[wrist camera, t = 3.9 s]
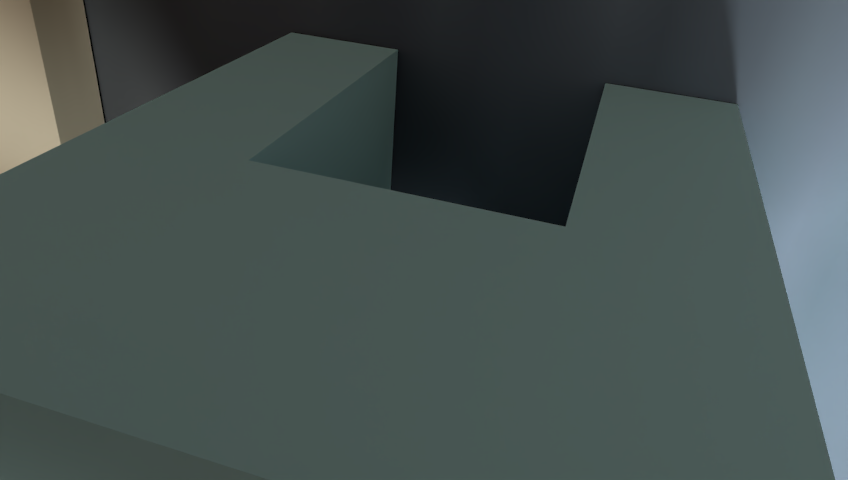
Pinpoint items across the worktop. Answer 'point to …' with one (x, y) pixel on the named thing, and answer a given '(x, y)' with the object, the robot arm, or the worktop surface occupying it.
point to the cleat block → (389, 298)
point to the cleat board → (44, 78)
